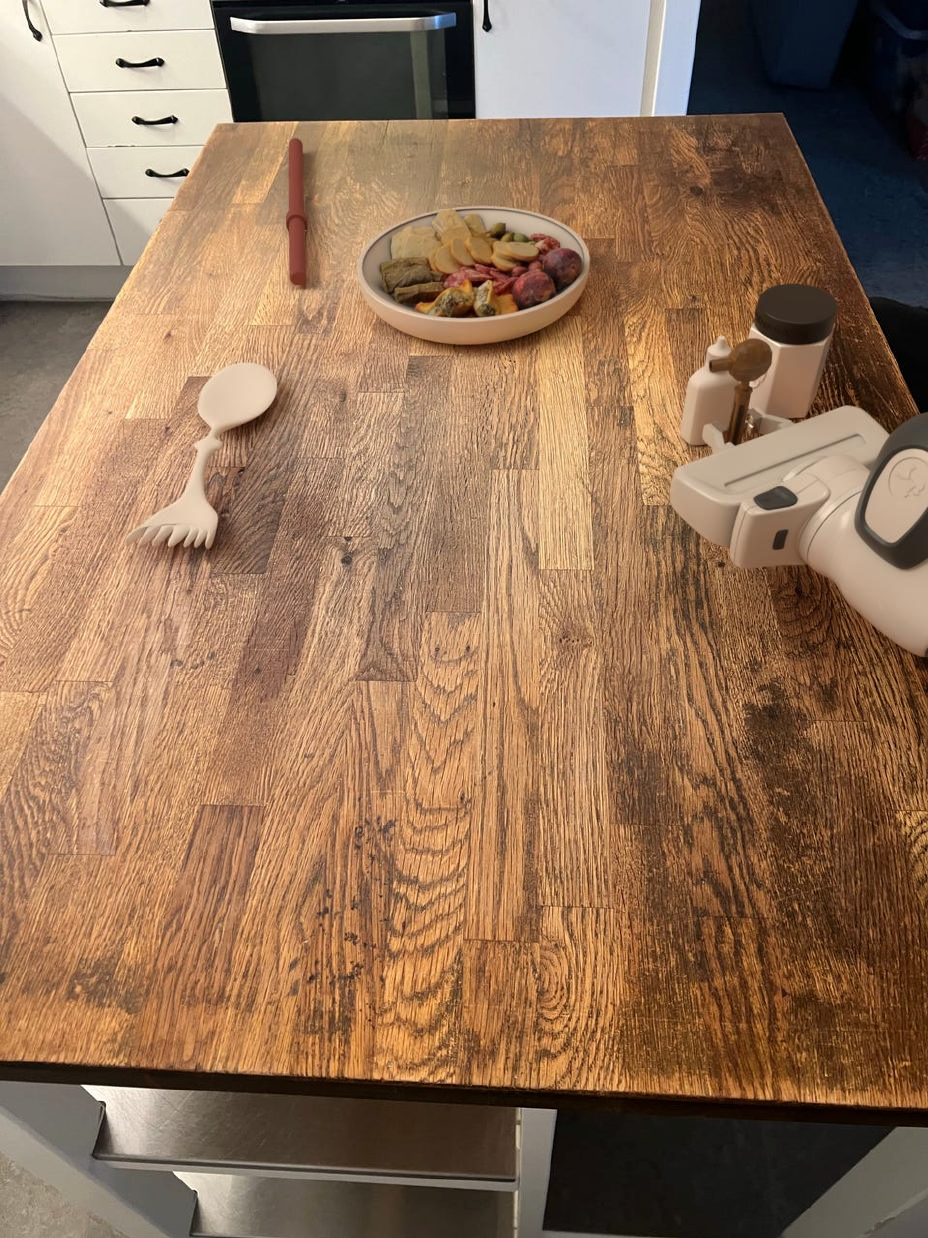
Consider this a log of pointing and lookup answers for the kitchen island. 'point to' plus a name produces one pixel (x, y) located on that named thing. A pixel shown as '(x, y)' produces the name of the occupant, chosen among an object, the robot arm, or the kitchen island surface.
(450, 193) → the kitchen island surface
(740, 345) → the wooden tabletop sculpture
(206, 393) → the spoon
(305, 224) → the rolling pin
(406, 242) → the bowl
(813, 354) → the jar
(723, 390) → the eye dropper bottle
